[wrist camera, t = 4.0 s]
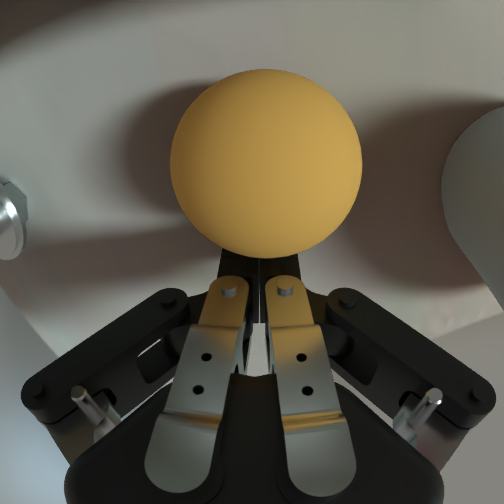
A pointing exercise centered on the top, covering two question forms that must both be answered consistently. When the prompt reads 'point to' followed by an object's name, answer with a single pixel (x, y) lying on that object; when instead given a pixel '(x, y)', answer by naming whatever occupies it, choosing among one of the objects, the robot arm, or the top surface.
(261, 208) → the ball
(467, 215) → the lumpy-topped squat cylinder
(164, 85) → the top surface
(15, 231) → the screw
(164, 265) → the top surface
